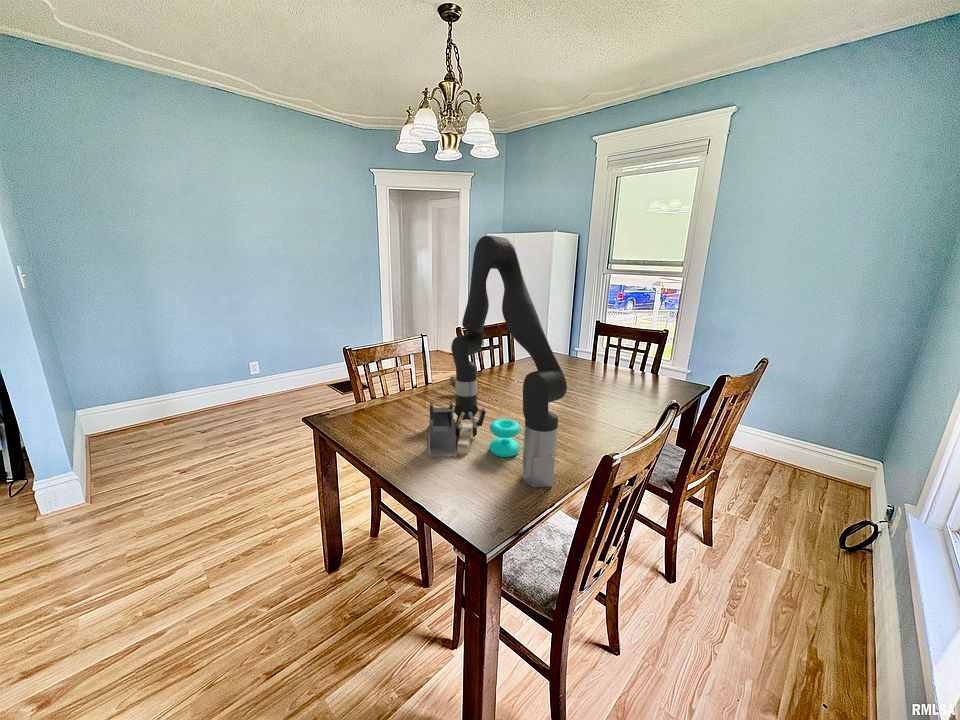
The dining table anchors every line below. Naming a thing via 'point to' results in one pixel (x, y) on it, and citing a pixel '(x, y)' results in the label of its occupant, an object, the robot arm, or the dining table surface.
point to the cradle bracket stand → (441, 433)
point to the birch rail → (465, 437)
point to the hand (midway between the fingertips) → (465, 436)
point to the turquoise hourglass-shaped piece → (504, 437)
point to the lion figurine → (453, 381)
